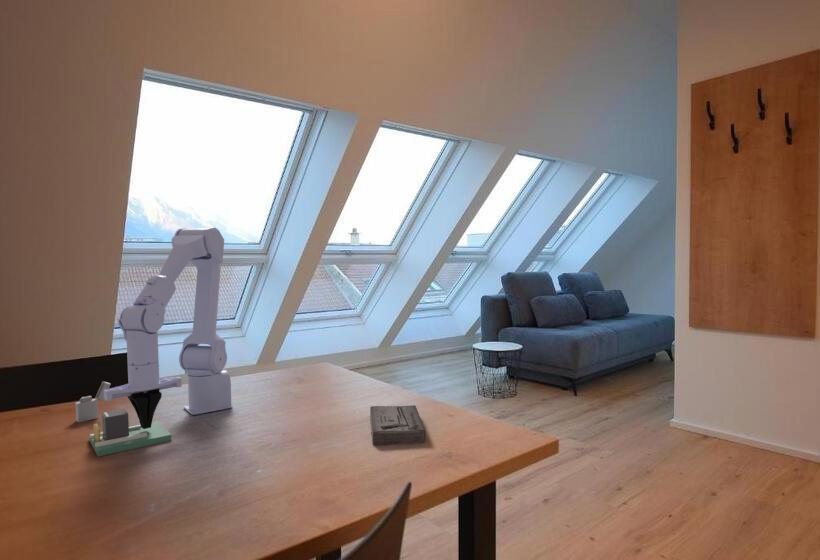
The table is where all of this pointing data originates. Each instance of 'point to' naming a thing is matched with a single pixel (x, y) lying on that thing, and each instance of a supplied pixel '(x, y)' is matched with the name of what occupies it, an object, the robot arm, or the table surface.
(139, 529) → the table surface
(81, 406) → the lighter
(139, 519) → the table surface
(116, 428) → the plug
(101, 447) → the header board
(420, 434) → the box
